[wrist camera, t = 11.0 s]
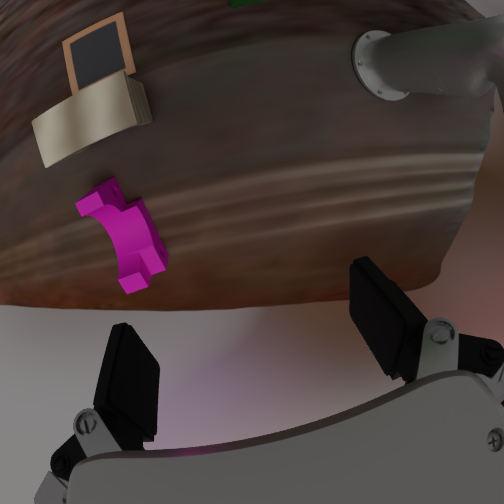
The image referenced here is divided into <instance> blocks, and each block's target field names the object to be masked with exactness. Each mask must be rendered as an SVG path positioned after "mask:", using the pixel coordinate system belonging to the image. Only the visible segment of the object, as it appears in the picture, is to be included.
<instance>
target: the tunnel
mask: <svg viewBox="0 0 504 504" xmlns="http://www.w3.org/2000/svg"><path fill="white" fill-rule="evenodd" d="M151 122H153V118H152V115H151V111H150V108H149V104H148V100H147V97H146V93H145V89H144V85H143V83H141V82H139V81H137V80H135V79H132V78H130V77H128V76H127V72H125V71H121V72H119V73H117V74H115V75H112V76H110V77H108V78H106V79H104V80H102V81H100V82H97V83H95V84H93V85H91V86H90V87H88V88H86V89H84V90H82V91H80V92H78V93H76V94H75V95H73V96H71V97H69V98H68V99H66V100H64V101H62V102H61V103H59V104H57V105H56V106H54V107H53V108H51V109H49V110H48V111H46V112H45V113H43V114H42V115H40V116H39V117H37V118H36V119H34V120H33V121H32V125H33V129H34V132H35V136H36V140H37V143H38V146H39V150H40V153H41V156H42V159H43V162H44V165H45V168H47V167H49V166H51V165H53V164H55V163H57V162H59V161H62V160H64V159H66V158H68V157H71V156H73V155H75V154H78V153H80V152H83V151H85V150H87V149H89V148H92V147H91V144H93V143H95V142H97V141H99V140H101V139H103V138H106V137H108V136H110V135H112V134H115V133H117V132H119V131H122V130H124V129H126V128H130V127H135V126H140V125H144V124H148V123H151Z"/></svg>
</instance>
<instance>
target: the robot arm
mask: <svg viewBox="0 0 504 504" xmlns="http://www.w3.org/2000/svg"><path fill="white" fill-rule="evenodd" d="M352 61H353V67H354V69H355V72H356V75H357V76H358V78H359V80H360V82H361V83H362V84H363V86H364V87H365V88H366V89H367V90H368V91H369V92H370V93H372V94H373V95H374V96H376V97H378V98H380V99H383V100H389V101H397V100H400V99H403V98H404V97H406V96H407V95H408V94H409V93H410V92H411V93H427V94H438V95H447V96H455V97H463V98H476V97H479V96H481V95H483V94H484V93H485V92H487V91H488V90H489V89H490V87H491V86H492V85H493V84H495V85H496V87H497V90H498V93H499V97H500V99H501V103H502V107H503V112H504V14H503V15H497V16H493V17H488V18H484V19H479V20H474V21H469V22H461V23H454V24H447V25H439V26H434V27H427V28H422V29H416V30H411V31H406V32H402V33H397V34H393V35H391V34H389V33H387V32H384V31H380V30H373V31H369V32H366V33H364V34H362V35H361V36H359V37H358V39H357V40H356V41H355V44H354V46H353V50H352ZM349 312H350V316H351V318H352V320H353V321H354V323H355V324H356V327H357V328H358V330H359V331H360V333H361V334H362V336H363V338H364V340H365V341H366V343H367V345H368V346H369V348H370V350H371V351H372V353H373V354H374V356H375V358H376V360H377V361H378V363H379V365H380V366H381V368H382V370H383V372H384V373H385V374H386V375H387V376H388V375H390V376H391V378H392V380H395V379H397V378H399V377H402V379H403V380H404V381H405V385H404V386H402V387H400V388H397V389H395V390H393V391H391V392H389V393H387V394H384V395H382V396H380V397H378V398H375V399H373V400H371V401H368V402H366V403H363V404H361V405H358V406H356V407H353V408H351V409H348V410H346V411H343V412H340V413H338V414H335V415H332V416H330V417H327V418H324V419H321V420H317V421H315V422H311V423H308V424H305V425H301V426H298V427H294V428H291V429H287V430H284V431H280V432H276V433H272V434H267V435H263V436H259V437H254V438H249V439H244V440H239V441H233V442H227V443H221V444H214V445H207V446H199V447H189V448H179V449H163V450H145V449H144V447H143V442H153V441H154V435H156V434H157V412H158V392H159V391H158V390H159V377H160V367H159V364H158V362H157V361H156V359H155V358H154V357H153V355H152V354H151V353H150V351H149V350H148V348H147V347H146V346H145V344H144V343H143V341H142V340H141V339H140V337H139V336H138V334H137V333H136V331H135V330H134V328H133V327H132V326H131V325H128V324H127V323H120V324H115V325H113V327H112V330H111V333H110V336H109V340H108V343H107V347H106V351H105V355H104V358H103V362H102V366H101V370H100V374H99V379H98V383H97V387H96V392H95V397H94V402H93V405H94V409H90V408H87V409H83V410H82V411H80V412H79V413H78V414H77V416H76V417H75V419H74V423H73V429H74V432H75V434H74V435H73V436H71V437H70V438H69V439H68V440H67V441H66V442H65V443H64V444H63V445H62V446H61V447H60V448H59V449H57V450H56V451H55V452H54V454H53V455H52V457H51V462H50V465H51V469H52V472H50V471H48V473H47V475H46V477H45V478H44V480H43V482H42V484H41V485H40V487H39V489H38V491H37V493H36V495H35V498H34V503H35V504H504V349H503V347H502V346H501V344H500V343H498V342H497V341H495V340H492V339H486V338H480V337H475V336H470V335H465V334H459V333H458V329H457V327H456V326H455V324H454V323H453V322H452V321H450V320H448V319H445V318H434V319H431V320H430V321H428V320H427V319H426V317H425V316H424V315H423V314H422V313H421V312H420V310H419V309H418V308H417V307H416V306H415V305H414V303H413V302H412V301H411V300H410V299H409V298H408V297H407V295H405V293H404V292H403V291H402V290H401V289H400V288H399V287H398V285H397V284H396V283H395V282H394V281H392V280H389V279H388V278H387V277H386V276H385V274H384V273H383V272H382V271H381V270H380V269H379V268H378V267H377V266H376V265H375V264H374V263H373V262H372V261H371V260H370V259H369V257H367V256H364V257H361V258H358V259H355V260H353V264H351V265H350V305H349Z"/></svg>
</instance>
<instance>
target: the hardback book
mask: <svg viewBox="0 0 504 504" xmlns="http://www.w3.org/2000/svg"><path fill="white" fill-rule="evenodd" d="M262 1H267V0H230V6H231V8H234V7H238V6H242V5H247V4H252V3H257V2H262Z"/></svg>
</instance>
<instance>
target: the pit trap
mask: <svg viewBox="0 0 504 504" xmlns="http://www.w3.org/2000/svg"><path fill="white" fill-rule="evenodd" d="M63 49H64V55H65V61H66V66H67V71H68V76H69V81H70V86H71V90H72V94H73V95H75V94H76V93H78V92H80V91H82V90H84V89H86V88H88V87H90V86H91V85H93V84H95V83H97V82H100V81H102V80H104V79H106V78H108V77H110V76H112V75H115V74H117V73H119V72H121V71H125V72H127V76H128V75H131V74H133V73H136V68H135V64H134V60H133V56H132V52H131V47H130V43H129V38H128V34H127V29H126V24H125V19H124V14H123V12H120V13H118V14H116V15H113V16H111V17H109V18H107V19H105V20H102V21H100V22H98V23H96V24H94V25H92V26H90V27H88V28H86V29H84V30H82V31H81V32H79V33H77V34H75V35H73V36H72V37H70V38H68V39H66V40H65V41H63Z"/></svg>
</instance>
